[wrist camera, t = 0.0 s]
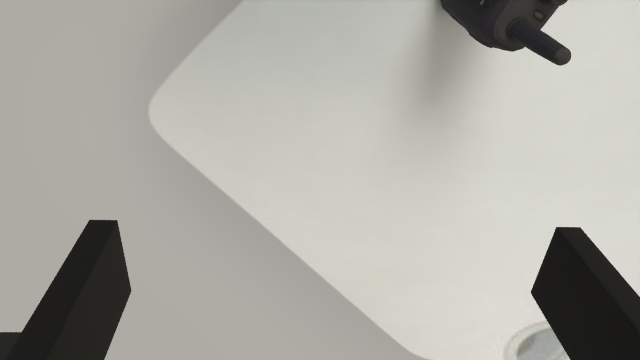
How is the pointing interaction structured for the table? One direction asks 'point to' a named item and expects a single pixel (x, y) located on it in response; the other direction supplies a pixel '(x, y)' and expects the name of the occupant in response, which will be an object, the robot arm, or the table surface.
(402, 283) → the table surface
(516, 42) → the two-way radio
